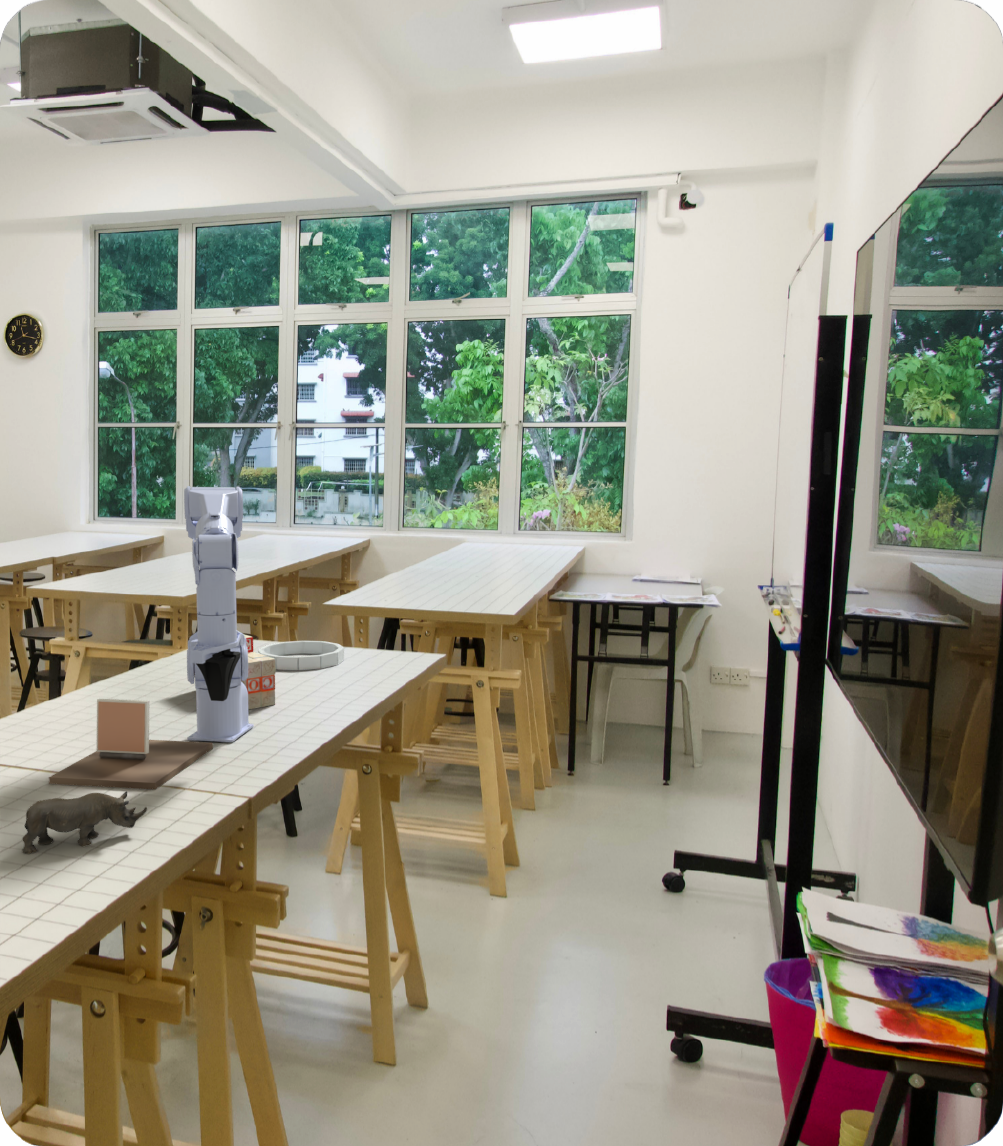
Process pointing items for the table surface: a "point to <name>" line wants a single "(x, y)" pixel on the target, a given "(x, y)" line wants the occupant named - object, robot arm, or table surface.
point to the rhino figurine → (76, 817)
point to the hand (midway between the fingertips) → (218, 699)
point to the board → (133, 766)
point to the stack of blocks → (259, 678)
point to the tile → (123, 726)
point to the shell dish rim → (329, 656)
